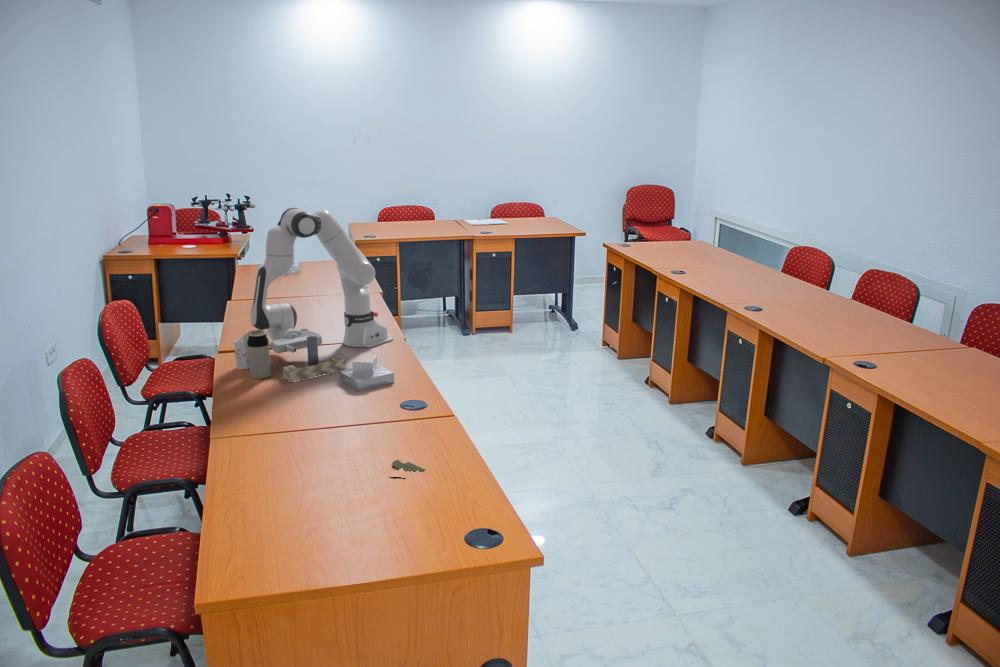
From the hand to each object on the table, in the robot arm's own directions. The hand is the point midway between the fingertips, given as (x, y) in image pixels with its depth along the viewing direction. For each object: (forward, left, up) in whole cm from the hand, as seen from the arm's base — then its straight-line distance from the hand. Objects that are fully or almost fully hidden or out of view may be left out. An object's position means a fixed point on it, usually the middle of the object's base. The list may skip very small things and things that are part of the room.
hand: (305, 347), depth 317 cm
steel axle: (0, +6, -9) cm, 11 cm away
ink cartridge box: (+18, -18, -9) cm, 27 cm away
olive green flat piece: (+17, +102, -10) cm, 104 cm away
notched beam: (0, +7, -9) cm, 12 cm away
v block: (-12, +26, -9) cm, 30 cm away
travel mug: (+18, -4, -9) cm, 21 cm away
